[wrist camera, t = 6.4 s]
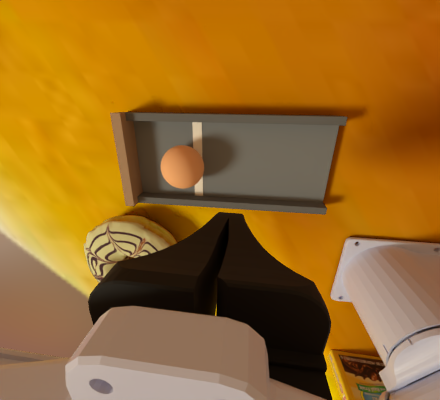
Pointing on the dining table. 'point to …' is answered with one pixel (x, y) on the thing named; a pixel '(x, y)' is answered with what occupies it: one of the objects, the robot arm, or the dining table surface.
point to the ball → (182, 166)
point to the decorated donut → (123, 242)
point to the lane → (229, 159)
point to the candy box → (357, 375)
